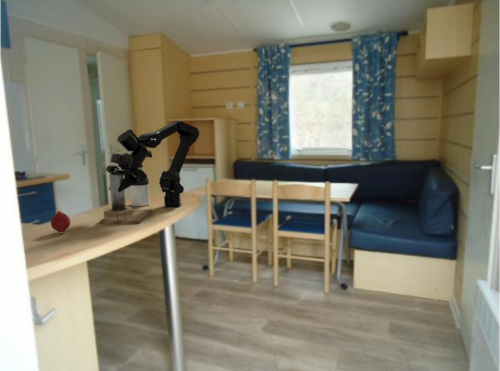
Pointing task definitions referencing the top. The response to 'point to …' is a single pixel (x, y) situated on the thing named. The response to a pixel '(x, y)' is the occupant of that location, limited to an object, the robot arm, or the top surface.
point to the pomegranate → (60, 222)
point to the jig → (124, 216)
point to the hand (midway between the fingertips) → (114, 190)
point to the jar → (140, 193)
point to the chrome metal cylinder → (116, 192)
